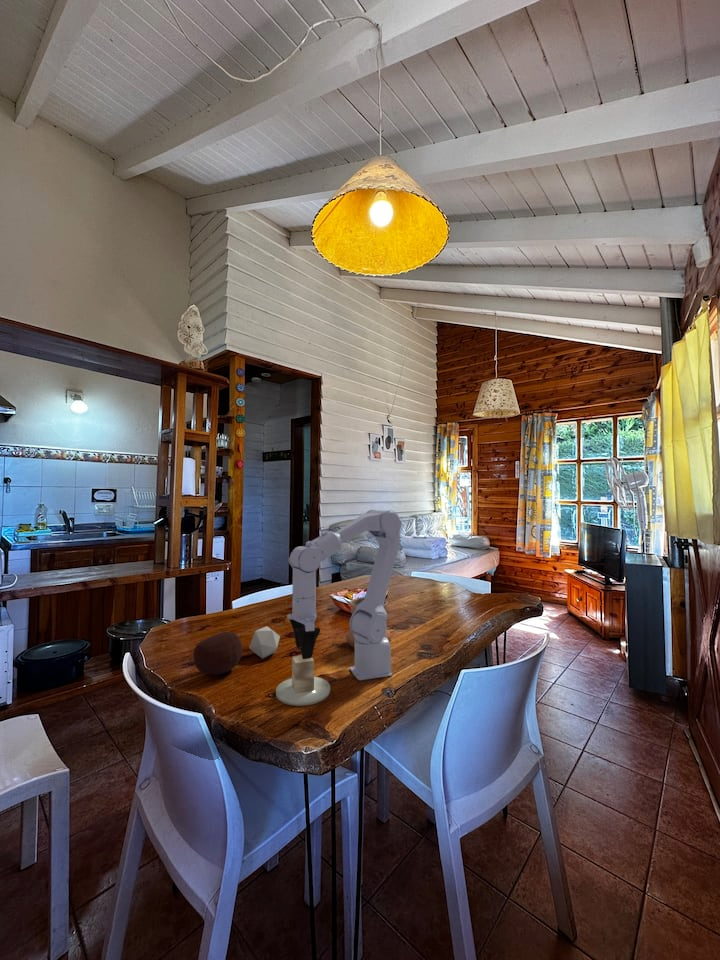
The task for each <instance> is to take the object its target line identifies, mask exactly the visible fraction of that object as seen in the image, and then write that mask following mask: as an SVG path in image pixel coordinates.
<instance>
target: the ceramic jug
mask: <svg viewBox="0 0 720 960" xmlns="http://www.w3.org/2000/svg"><path fill="white" fill-rule="evenodd" d="M364 598H365V596H363V597H362V596H361V597H356V598H352V599H351V600H350V601H349V607H350V613H351V616H352V615H353V614H354V612H355V610H356V608H357V605H358V604H359V603H361V602H362V601H363V600H364ZM383 607H384V609H385V611H386V612H387V609H388V601H387V600H385V601H384V605H383ZM370 615H371V613H370ZM384 637H386V638H387V639H388V641H389V643H390V644H391V640H392V634H391V631H389V629H387V631H386V634H385V636H384ZM345 639H346V642H347V643H348V645H349V646H351V648H354V649H355V637H354V632H352V630H351V629H348V630H347V632H346V635H345Z"/></svg>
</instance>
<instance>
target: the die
mask: <svg viewBox="0 0 720 960" xmlns="http://www.w3.org/2000/svg"><path fill="white" fill-rule="evenodd" d="M280 638H281V636H280V635H279V634H277V632H275V631H274V630H272V629H271V628H270V627H269V626H263V627H262V628H259V629H257V630H255V631H254V634H253V637H252V638H251V642H250V644H249V648H248V649H250V651H252V653H253V652H254V653H255V654H256V655H257V656H258V657H260V658H261V659H262V660H263V659H265V658H267V657H269V656H271V655H273V654H275V652H276V650H277V649H278V646H279V641H280Z"/></svg>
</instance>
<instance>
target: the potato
mask: <svg viewBox="0 0 720 960" xmlns="http://www.w3.org/2000/svg"><path fill="white" fill-rule="evenodd" d="M242 654H243V643H242V641H241V638H240V637H239V636H238V634H236V633H235V632H234V631H222V632H219V633H217V634H214V635H210V636H209V637H206V638H204V639H203V640H201V641H199V642H198V643H197V644H196V646H195V647H194V650H193V655H192V657H193V663H194V666H195V667H196V669H197V670H198V671H199V672H200V673H202V674H207V675H209V676H210V675H211V676H218V675H223V674H225V673H227V672H230V671H231V670H232V669H234V668H235V667H236V666H237V665H238V664H239V663H240V660H241V658H242Z"/></svg>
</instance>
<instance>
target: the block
mask: <svg viewBox="0 0 720 960" xmlns="http://www.w3.org/2000/svg"><path fill="white" fill-rule="evenodd" d="M291 664H292V665H291V678H292V687H293V689H294V692H295V694H296V693H302V692H308V691H314V677H315V660H314V658H313V657H312V658H310V659H303V658H302V654H301V655H292V657H291Z"/></svg>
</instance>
